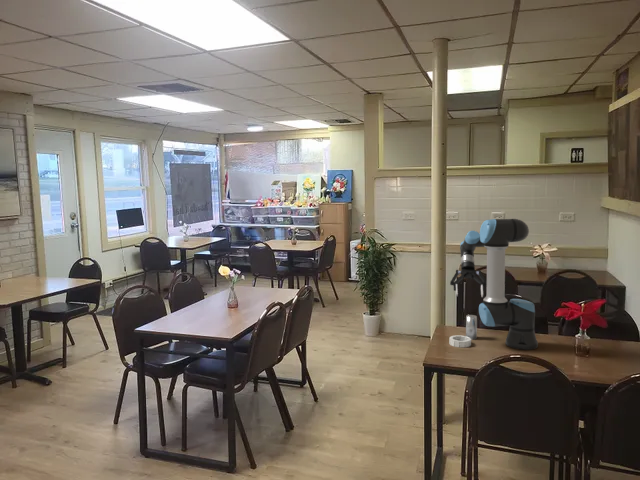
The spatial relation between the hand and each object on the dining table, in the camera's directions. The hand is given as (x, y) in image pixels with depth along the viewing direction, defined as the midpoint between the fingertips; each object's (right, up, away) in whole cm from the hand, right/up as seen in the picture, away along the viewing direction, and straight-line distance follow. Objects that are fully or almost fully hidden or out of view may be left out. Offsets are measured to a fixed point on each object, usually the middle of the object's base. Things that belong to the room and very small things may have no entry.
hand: (469, 295), depth 268 cm
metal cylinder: (-2, -22, -9) cm, 24 cm away
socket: (-11, -23, -18) cm, 31 cm away
